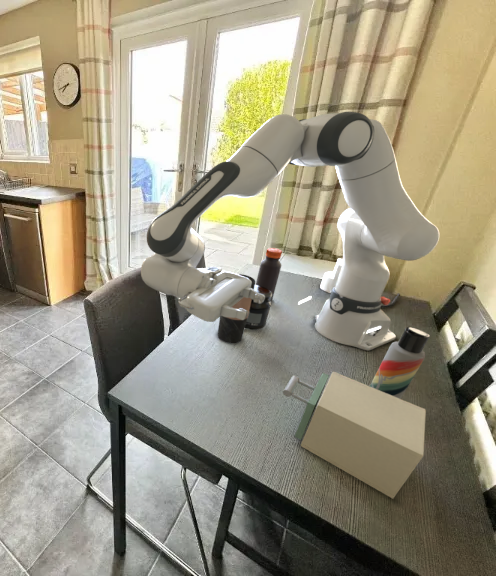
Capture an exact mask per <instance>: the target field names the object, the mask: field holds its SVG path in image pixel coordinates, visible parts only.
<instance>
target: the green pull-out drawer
mask: <svg viewBox="0 0 496 576" xmlns="http://www.w3.org/2000/svg"><path fill="white" fill-rule="evenodd" d="M329 378H330V375H329V374H327V373H325V372H322V373H321V376H320V377H319V379H318V381H317V383H316V385H315V386H313V385H312V384H309V383H307V382H304V381H303V380H300V378H299V377H298V376H297V375H292V376H291V377H290V379H289V381H288V382H287V383H286V385H285V387H284V388H283V390H282V394H283V395H284V396H285V397H287V398H289V397H292V398H294V399H297V400H298V401H300V402H302V403H304V404H306V406H305V409H304V411H303V414H302V417H301V419H300V422H299V424H298V427H297V429H296V431H295V434H294V437H295V438H296V439H298V440H300V441H301V440H303V438H304V435H305V433H306V431H307V429H308V427H309V424H310V422H311V419H312V417H313V415H314V412H315V410H316V408H317V405H318V403H319V401H320V399H321V396H322V394H323V392H324V390H325V388H326V385H327V383H328V380H329ZM298 385H301V386H303V387H305V388H307V389H310V390H312V391H313V392H312V394H311V395H310V398H309V399H307V398H305V397H303V396H301V395H299V394H296V393H294V391H295V390H296V387H297V386H298Z"/></svg>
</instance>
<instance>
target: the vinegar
mask: <svg viewBox="0 0 496 576" xmlns="http://www.w3.org/2000/svg"><path fill="white" fill-rule="evenodd" d="M282 253H283V250H281V249H279V248H276V247H269V248H267V249H266V251H265V258H264V259H263V260H261V261H260V264H259V269H258V273H257V276H256V277H257V278H256V280H255V285H258V286H262V287H265V288H267V289H268V290H270V291H271V292H272V297H271V300H270V301H271V303H272V302H273V299H274V295H275V291H276V287H277V284H278V280H279V276H280V272H281V269H282V263H281V262H280V259H281V257H282Z"/></svg>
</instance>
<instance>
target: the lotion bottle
mask: <svg viewBox="0 0 496 576" xmlns="http://www.w3.org/2000/svg"><path fill="white" fill-rule="evenodd" d="M429 339H430V334H428V333H427V332H425V331H423V330H421V329H420V328H417V327H414V326H407V327H405V329H404V331H403V332H402V334H401V336H400V338H399V340H398V341H394V342H392V343H391V344H390V345H389V347H388V350H387V351H386V353H385V355H384V358H383V359H382V361H381V362H380V365H379V367H378V369H377V371H376V373H375V375H374V377H373V379H372V381H371V383H370V385H369V386H370V387H372V388H375V389H377V390H379V391H382V392H384V393H387V394H389V395H392V396H394V397H396V398H399V399H401V400H402V398H403V397H404V394H405V393H406V391H407V389H408V388H409V386H410V384H411V383H412V381H413V379H414V377H415V376H416V374H417V372H418V370H419V369H420V367H421V365H422V363H423V362H424V360H425V358H426V352H425V351H424V350H423V349H424V348H425V346H426V344H427V343H428V341H429Z"/></svg>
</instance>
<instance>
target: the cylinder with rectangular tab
mask: <svg viewBox="0 0 496 576" xmlns="http://www.w3.org/2000/svg"><path fill="white" fill-rule="evenodd" d="M342 262H343V258H339V257H338V258H337V260H336V263H335V266H334V269H333V271H326V272H324V274H323V277H322V280H321V283H320V286H319V288H320V289H321V290H322V291H324V292H325V293H329V294H330V293H331V291H332V289H333V288H334V287H335V286H336V283H337V280H338V277H339V274H340V271H341V268H342Z"/></svg>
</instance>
